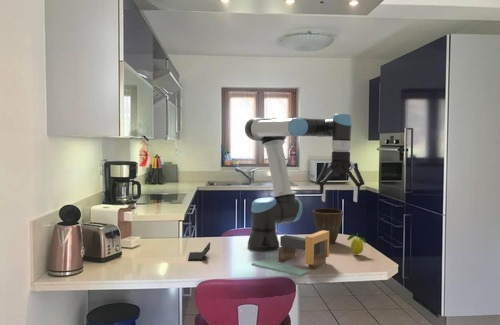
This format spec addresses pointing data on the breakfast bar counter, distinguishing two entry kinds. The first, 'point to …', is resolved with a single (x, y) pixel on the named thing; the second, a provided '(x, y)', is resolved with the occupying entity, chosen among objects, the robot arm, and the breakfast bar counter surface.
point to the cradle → (290, 253)
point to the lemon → (356, 244)
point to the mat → (281, 267)
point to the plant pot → (328, 222)
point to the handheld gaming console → (198, 254)
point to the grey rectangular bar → (300, 243)
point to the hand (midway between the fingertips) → (339, 201)
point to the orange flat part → (313, 240)
